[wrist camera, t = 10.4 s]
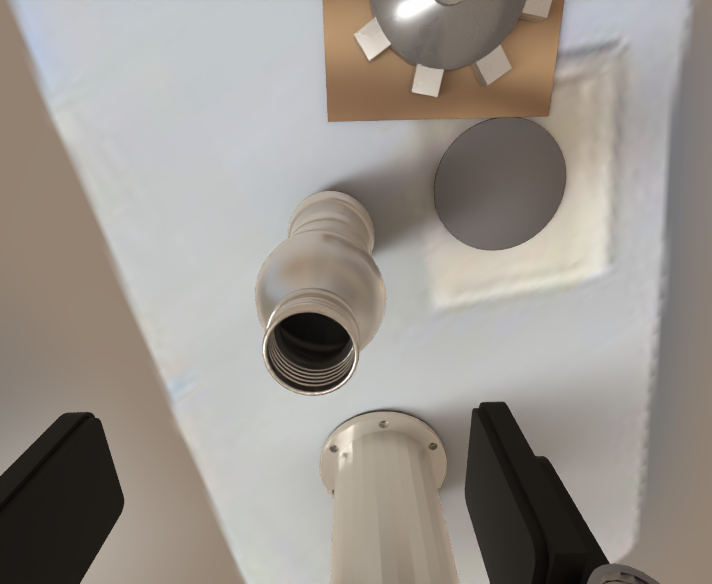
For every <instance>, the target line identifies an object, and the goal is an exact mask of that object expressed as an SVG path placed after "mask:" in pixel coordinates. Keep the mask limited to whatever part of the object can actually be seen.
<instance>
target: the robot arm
mask: <svg viewBox="0 0 712 584" xmlns="http://www.w3.org/2000/svg"><path fill="white" fill-rule="evenodd" d="M446 470H447V458H446V454H445V450H444V447H443V445H442V442H441V440H440V438H439V437H438V436H437V434H436V433H435V432H434V430H432V429H431V428H430V427H429V426H428V425H427V424H426V423H424V422H422V421H420V420H419V419H417V418H415V417H412V416H409V415H406V414H402V413H397V412H373V413H367V414H364V415H360V416H357V417H355V418H353V419H351V420H349V421H347V422H345V423H343V424H342V425H341V426H339V427H338V428H337V429H336V430H335V431H334V432H333V433H332V434H331V435H330V436H329V437H328V439H327V441H326V443H325V444H324V446H323V450H322V453H321V459H320V476H321V479H322V482H323V485H324V486H325V488H326V490H327V491H328V493H329V494H330V495H331V496H332V497H333V498H334V510H333V532H332V553H331V574H330V584H460V582H459V578H458V574H457V570H456V565H455V561H454V557H453V553H452V548H451V544H450V540H449V536H448V531H447V527H446V523H445V519H444V514H443V510H442V506H441V502H440V497H439V493H438V489H439V488H440V487H441V485H442V483H443V481H444V478H445V475H446ZM465 499H466V504H467V508H468V511H469V514H470V518H471V521H472V524H473V528H474V531H475V534H476V538H477V541H478V544H479V548H480V551H481V554H482V558H483V561H484V564H485V568H486V571H487V574H488V577H489V581H490V584H660V583H659V582H657V581H656V580H654V579H653V578H651V577H650V576H648V575H647V574H645V573H644V572H642V571H639V570H637V569H634V568H632V567H629V566H625V565H620V564H610V563H609V561H608V560H607V558H606V556H605V555H604V553H603V551H602V550H601V548H600V546H599V544H598V543H597V541H596V539H595V538H594V536H593V534H592V532H591V531H590V529H589V527H588V526H587V524H586V522H585V521H584V519H583V517H582V515H581V514H580V512H579V510H578V509H577V507H576V505H575V504H574V502H573V500H572V498H571V497H570V495H569V493H568V492H567V490H566V488H565V486H564V485H563V483H562V481H561V480H560V478H559V476H558V475H557V473H556V471H555V469H554V468H553V466H552V464H551V463H550V462H549V460H548V459H547V458H546V457H544V456H535V455H534V453H533V451H532V450H531V448H530V446H529V444H528V442H527V441H526V439H525V437H524V435H523V433H522V432H521V430H520V428H519V426H518V424H517V422H516V421H515V419H514V417H513V415H512V413H511V412H510V410H509V408H508V406H507V405H506V403H505V402H482V403H481V404H480V406H479V408H474V409H473V411H472V419H471V429H470V440H469V450H468V461H467V471H466V482H465ZM123 506H124V496H123V493H122V490H121V486H120V483H119V480H118V476H117V473H116V470H115V466H114V463H113V460H112V457H111V453H110V450H109V446H108V443H107V440H106V436H105V433H104V430H103V426H102V423H101V421H100V420H99V419H98V418H95V416H94V415H93V414H92V413H89V412H77V413H65V414H63V415H61V416H60V417H59V418H58V419H57V420H56V421H55V422H54V423H53V424H52V425H51V426H50V427H49V428H48V429H47V430H46V431H45V432H44V433H43V434H42V435H41V436H40V437H39V438H38V439H37V440H36V441H35V442H34V443H33V444H32V445H31V446H30V447H29V448H28V449H27V450H26V451H25V452H24V453H23V454H22V455H21V456H20V457H19V458H18V459H17V460H16V461H15V462H14V463H13V464H12V465H11V466H10V467H9V468H8V469H7V470H6V471H5V472H4V473H3V474H2V475H1V476H0V584H80V582H81V580H82V579H83V577H84V575H85V574H86V572H87V571H88V569H89V567H90V565H91V564H92V562H93V560H94V559H95V557H96V555H97V554H98V552H99V550H100V548H101V547H102V545H103V543H104V542H105V540H106V538H107V537H108V535H109V533H110V532H111V530H112V528H113V527H114V525H115V523H116V521H117V520H118V518H119V516H120V515H121V513H122V510H123Z"/></svg>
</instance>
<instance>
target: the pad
mask: <svg viewBox="0 0 712 584" xmlns="http://www.w3.org/2000/svg"><path fill="white" fill-rule="evenodd" d="M565 183H566V167H565V162H564V158H563V155H562V152H561V150H560V148H559V146H558V144H557V143H556V141H555V140H554V138H553V137H552V136H551V135H550V134H549V133H548V132H547V131H546V130H545V129H543V128H542V127H541V126H539V125H537V124H535V123H533V122H531V121H528V120H525V119H521V118H513V117H503V118H495V119H490V120H487V121H484V122H481V123H479V124H477V125H475V126H473V127H471V128H469V129H468V130H467V131H465V132H464V133H462V134H461V135H460V136H459V137H458V138H457V139H456V140H455V141H454V142H453V143H452V144H451V146H450V147H449V148H448V150H447V151H446V153H445V154H444V156H443V158H442V160H441V162H440V164H439V167H438V170H437V173H436V177H435V183H434V199H435V205H436V209H437V212H438V215H439V217H440V219H441V221H442V222H443V224H444V226H445V227H446V228H447V229H448V230H449V232H450V233H451V234H452V235H453V236H454V237H456V238H457V239H458V240H460V241H461V242H463V243H464V244H466V245H469V246H471V247H474V248H477V249H482V250H503V249H508V248H512V247H515V246H517V245H520V244H522V243H524V242H526V241H528V240H529V239H531V238H532V237H534V236H535V235H536V234H538V233H539V232H540V231H541V230H542V229H543V228H544V227H545V226H546V225H547V224H548V223H549V221H550V220H551V219H552V217H553V216H554V214H555V213H556V211H557V209H558V207H559V205H560V203H561V200H562V197H563V194H564V189H565Z"/></svg>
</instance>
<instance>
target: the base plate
mask: <svg viewBox="0 0 712 584" xmlns="http://www.w3.org/2000/svg"><path fill="white" fill-rule="evenodd" d="M563 4H564V0H552V2H551V6H550V9H549V13H548V16H547V18H546V19H544V20H542V21H540V22H538V23H537V22H532V21H528V20H523V19H518V21H517V23H516V24H515V26H514V28H513V29H512V31H511V32H510V33H509V35H508V36H507V37H506V39H505V40H504V41H503V42H502V43H501V44H500V45H501V47H502V49H503V51H504V53H505V55H506V57H507V59H508V61H509V63H510V65H511V67H512V69H510V70H509V71H507V72H506V73H505V74H503V75H502V76H500V77H499V78H497V79H496V80H495V81H493V82H492V83H490V84H489V85H487V86H484V87H482V86H481V85H480V83H479V81H478V79H477V77H476V75H475V73H474V71H473V69H472V67H471V65H468V66H466V67H464V68H461V69H457V70H454V71H448V72H443V76H442V80H441V84H440V89H439V93H438V97H436V98H430V97H425V96H420V95H415V94H410V93H409V90H410V86H411V81H412V76H413V71H414V66H412V65H410V64H408V63H406V62H405V61H403V60H402V59H400V58H399V57H398V56H397V55H396V54H395V53H393V51H392V50H391V49H390V48H388V49H387V50H386V51H384V52H383V53H382V54H380V55H379V56H378V57H376V58H375V59H374V60H373V61H371V62H370V63H368V62H367V60H366V58H365V57H364V55H363V53H362V52H361V50H360V48H359V47H358V45H357V43H356V42H355V40H354V34H355V33H356V32H358V31H359V30H360V29H361V28H363V27H364V26H365V25H366V24H368V23H369V22H370V21H371V20H373V17H372V13H371V8H370V3H369V0H323V20H324V43H325V65H326V88H327V111H328V122H337V121H378V120H418V119H458V118H499V117H539V116H549V109H550V102H551V94H552V87H553V79H554V72H555V64H556V57H557V49H558V42H559V34H560V27H561V19H562V12H563Z"/></svg>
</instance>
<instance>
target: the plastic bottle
mask: <svg viewBox="0 0 712 584" xmlns="http://www.w3.org/2000/svg"><path fill="white" fill-rule="evenodd" d="M374 238H375V234H374V226H373V223H372V220H371V218H370V216H369V214H368V212H367V210H366V209H365V208H364V207H363V206H362V204H361V203H359V202H358V201H357V200H356V199H355V198H353V197H351V196H349V195H347V194H345V193H341V192H338V191H323V192H318V193H315V194H312V195H311V196H309V197H307V198H306V199H304V200H303V201H302V202H301V203H300V204H299V205H298V206H297V208H296V209H295V211H294V212H293V214H292V217H291V219H290V223H289V228H288V239H287V240H285V241H283V242H282V243H281V244H280V245H279V246H278V247H277V248H275V249H274V250H273V252H272V253H271V254H270V255H269V256H268V258H267V259H266V260H265V262H264V263H263V265H262V267H261V269H260V272H259V274H258V276H257V282H256V287H255V301H256V307H257V312H258V316H259V320H260V323H261V325H262V327H263V329H264V331H265V335H264V340H263V358H264V362H265V365H266V367H267V369H268V371H269V373H270V374H271V375H272V377H273V378H274V379H275V380H276V381H277V382H278V383H279V384H280V385H282V386H283V387H285V388H286V389H288V390H290V391H293V392H295V393H298V394H302V395H310V396H316V395H324V394H327V393H331V392H333V391H335V390H337V389H339V388H340V387H342V386H343V385H344V384H346V383H347V381H348V380H349V379H350V378H351V377H352V375H353V373H354V371H355V369H356V366H357V363H358V360H359V352H360V351H361V350H363V349H364V348H365V347H366V346H367V345H368V344H369V342H370V341H371V340H372V339H373V337H374V335H375V334H376V332H377V330H378V328H379V326H380V324H381V323H382V319H383V316H384V313H385V307H386V292H385V285H384V282H383V279H382V276H381V273H380V271H379V268H378V266H377V265H376V263H375V261H374V259H373V258H372V256H371V253H372V249H373V246H374Z"/></svg>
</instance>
